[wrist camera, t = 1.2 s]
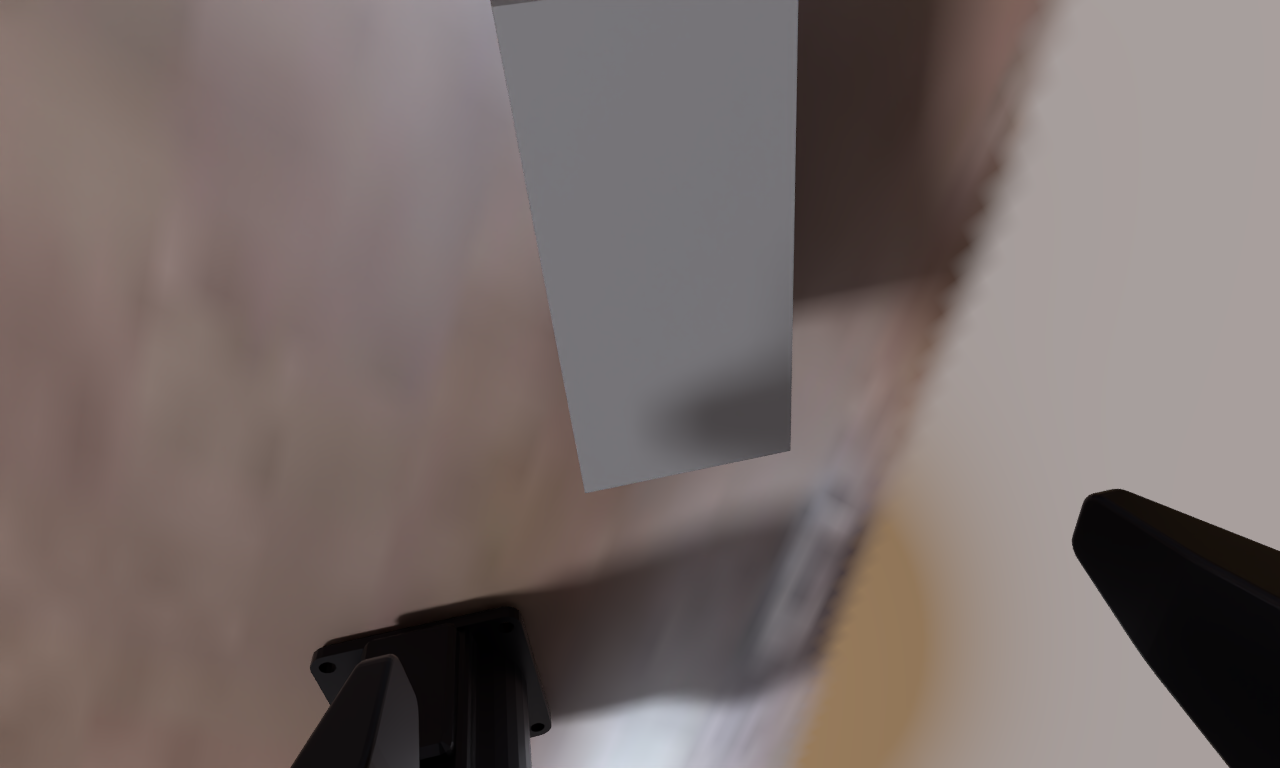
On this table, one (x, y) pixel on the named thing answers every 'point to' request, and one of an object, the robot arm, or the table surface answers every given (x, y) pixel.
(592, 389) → the plug
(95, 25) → the table surface
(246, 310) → the table surface
